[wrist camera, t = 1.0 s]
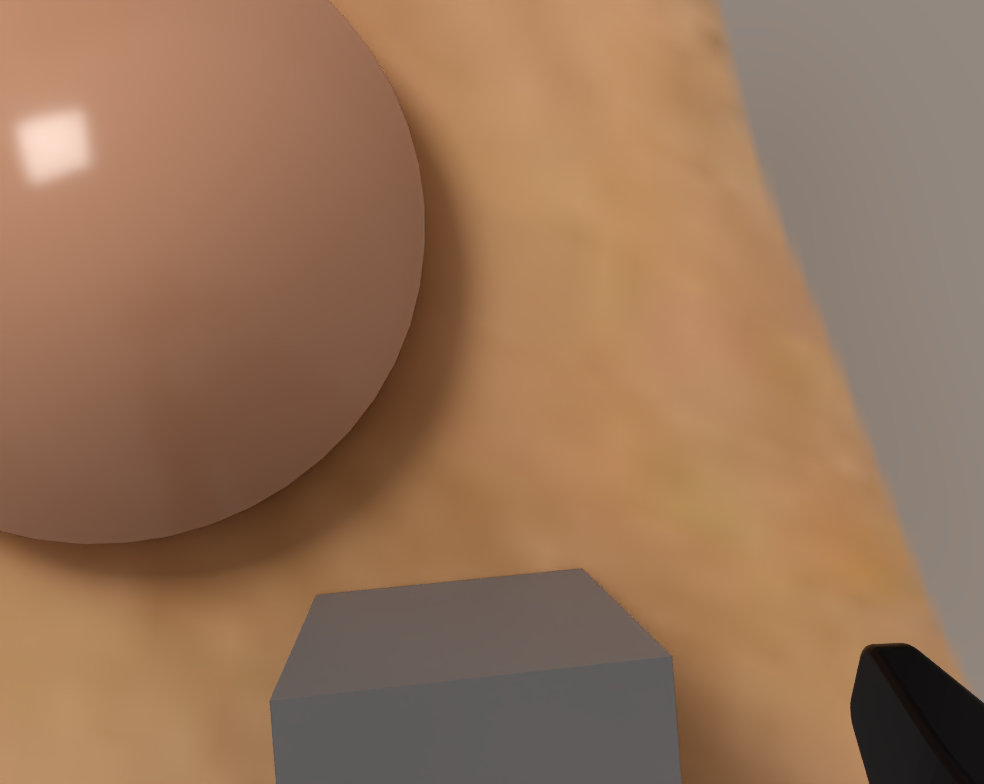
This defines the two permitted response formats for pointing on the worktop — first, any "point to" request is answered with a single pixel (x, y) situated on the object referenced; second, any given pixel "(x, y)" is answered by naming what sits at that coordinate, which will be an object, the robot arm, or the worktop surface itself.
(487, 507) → the worktop surface
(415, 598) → the matte slate cube
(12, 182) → the peach round platter
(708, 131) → the worktop surface
